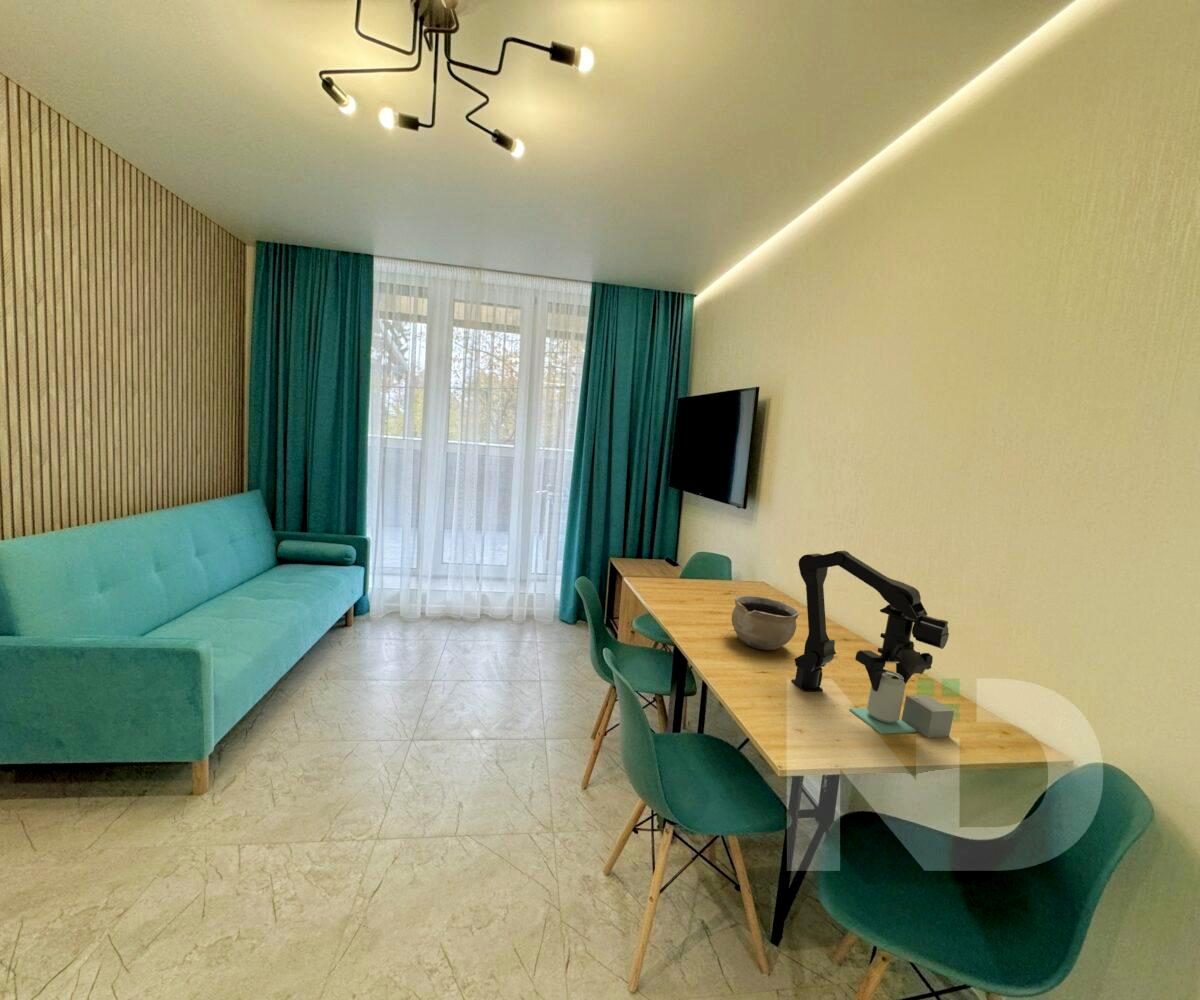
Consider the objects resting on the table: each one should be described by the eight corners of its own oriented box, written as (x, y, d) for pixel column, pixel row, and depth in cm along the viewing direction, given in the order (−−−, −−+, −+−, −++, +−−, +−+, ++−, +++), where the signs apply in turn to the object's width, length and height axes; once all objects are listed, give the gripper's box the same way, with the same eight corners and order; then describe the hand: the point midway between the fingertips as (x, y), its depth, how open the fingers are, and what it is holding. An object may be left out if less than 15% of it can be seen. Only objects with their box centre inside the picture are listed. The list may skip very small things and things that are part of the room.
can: (898, 728, 129) (906, 683, 128) (865, 716, 133) (873, 673, 131) (898, 716, 135) (907, 673, 134) (867, 706, 139) (875, 664, 138)
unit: (927, 737, 128) (932, 710, 127) (901, 720, 136) (906, 694, 135) (950, 736, 130) (955, 710, 129) (923, 719, 138) (928, 694, 137)
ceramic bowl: (715, 634, 185) (721, 594, 183) (761, 631, 194) (767, 593, 193) (758, 661, 165) (765, 616, 163) (806, 656, 174) (813, 614, 173)
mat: (880, 733, 127) (881, 731, 127) (849, 710, 138) (849, 708, 138) (915, 732, 130) (916, 729, 130) (882, 709, 141) (882, 707, 141)
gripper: (893, 646, 121) (881, 707, 123) (954, 647, 126) (942, 706, 128) (859, 628, 132) (848, 685, 134) (916, 629, 137) (905, 684, 139)
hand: (886, 690), depth 133 cm, fingers closed on can, 7 cm apart
